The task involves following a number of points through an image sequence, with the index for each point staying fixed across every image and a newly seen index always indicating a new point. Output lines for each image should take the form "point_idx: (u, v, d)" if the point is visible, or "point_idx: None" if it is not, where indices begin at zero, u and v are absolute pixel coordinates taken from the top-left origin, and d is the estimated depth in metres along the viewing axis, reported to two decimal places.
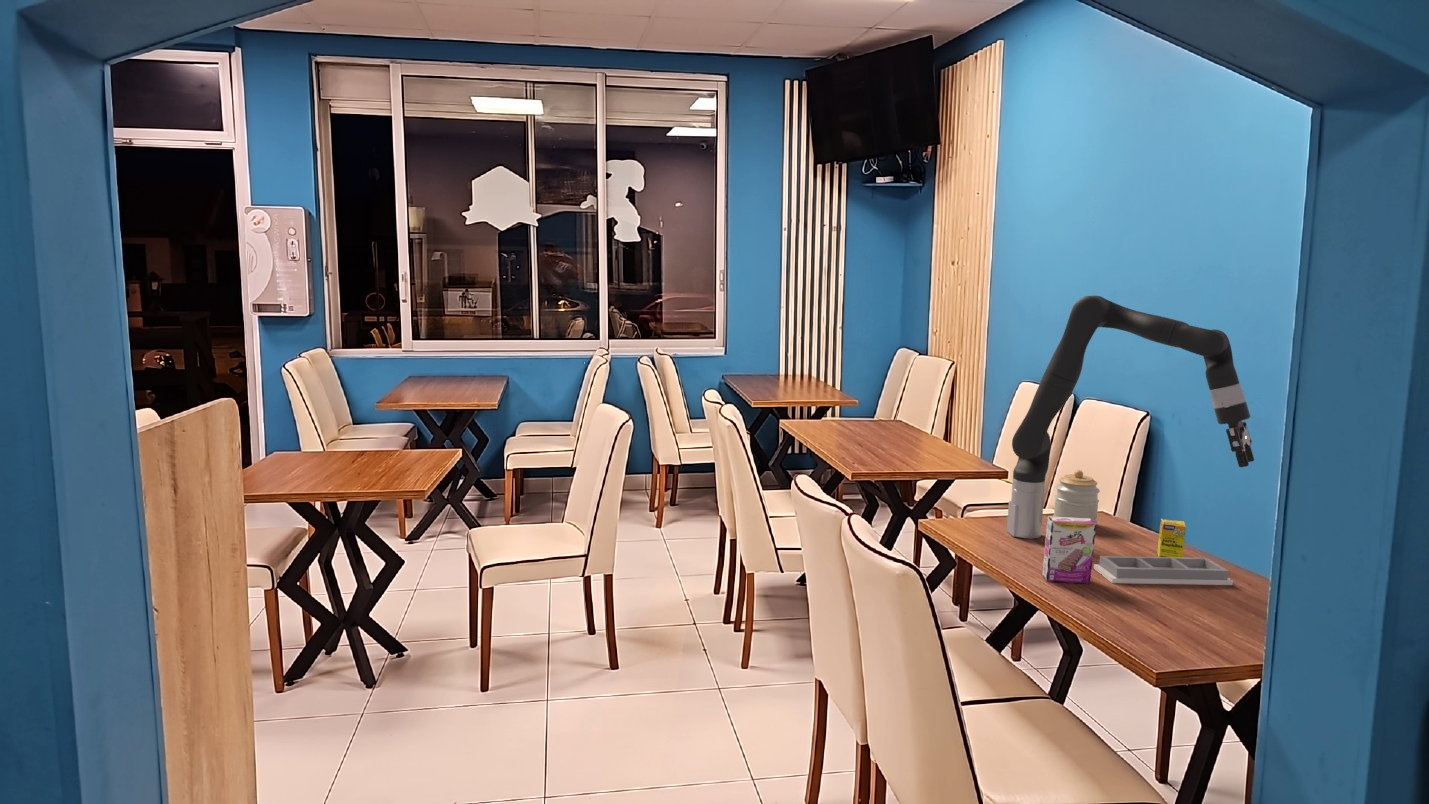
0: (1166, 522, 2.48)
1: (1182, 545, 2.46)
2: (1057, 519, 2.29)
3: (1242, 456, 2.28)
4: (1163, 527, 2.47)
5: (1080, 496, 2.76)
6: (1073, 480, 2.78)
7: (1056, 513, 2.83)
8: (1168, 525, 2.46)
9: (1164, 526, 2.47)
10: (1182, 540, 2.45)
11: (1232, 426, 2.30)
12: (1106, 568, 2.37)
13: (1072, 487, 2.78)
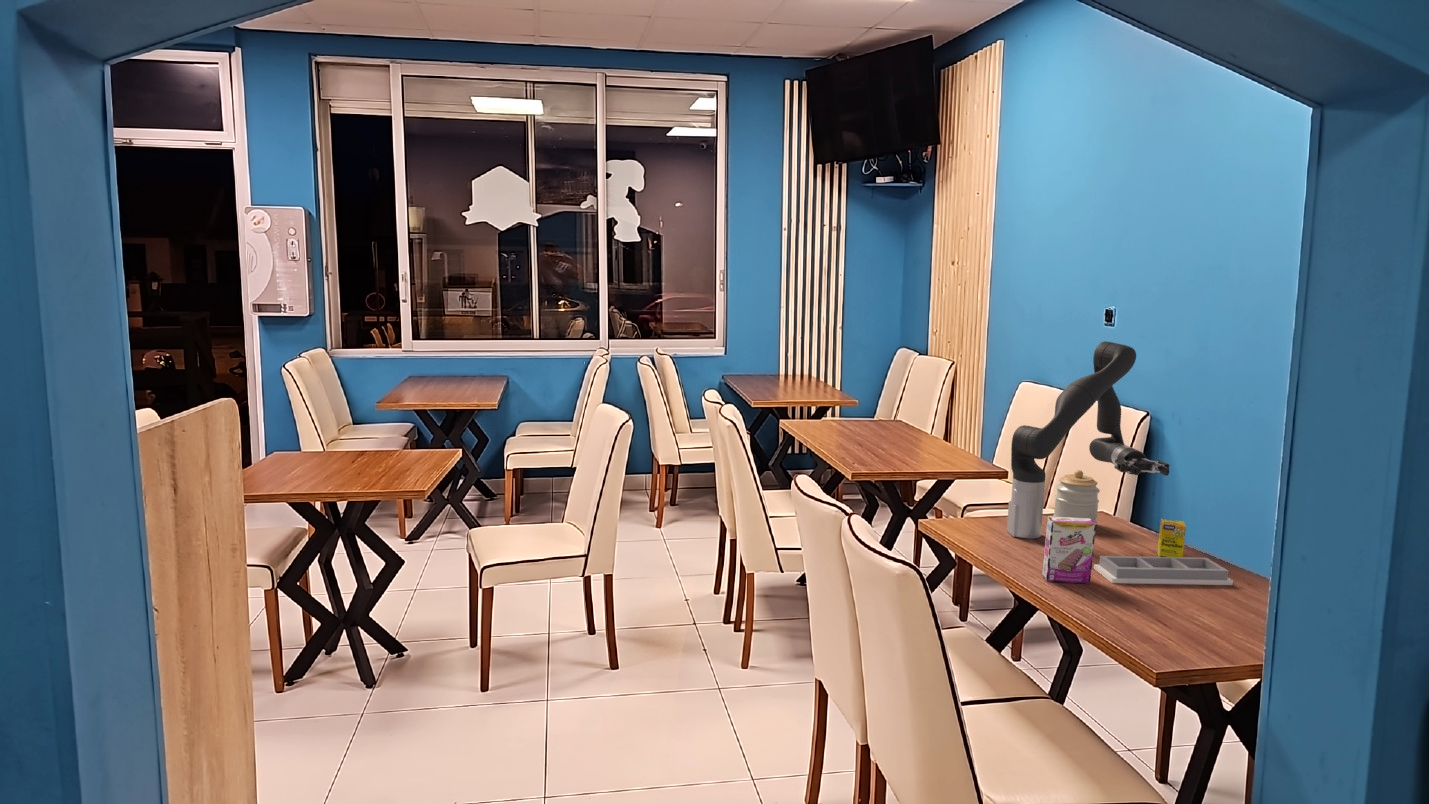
0: (1166, 522, 2.48)
1: (1182, 545, 2.46)
2: (1057, 519, 2.29)
3: None
4: (1163, 527, 2.47)
5: (1080, 496, 2.76)
6: (1073, 480, 2.78)
7: (1056, 513, 2.83)
8: (1168, 525, 2.46)
9: (1164, 526, 2.47)
10: (1182, 540, 2.45)
11: None
12: (1106, 568, 2.37)
13: (1072, 487, 2.78)
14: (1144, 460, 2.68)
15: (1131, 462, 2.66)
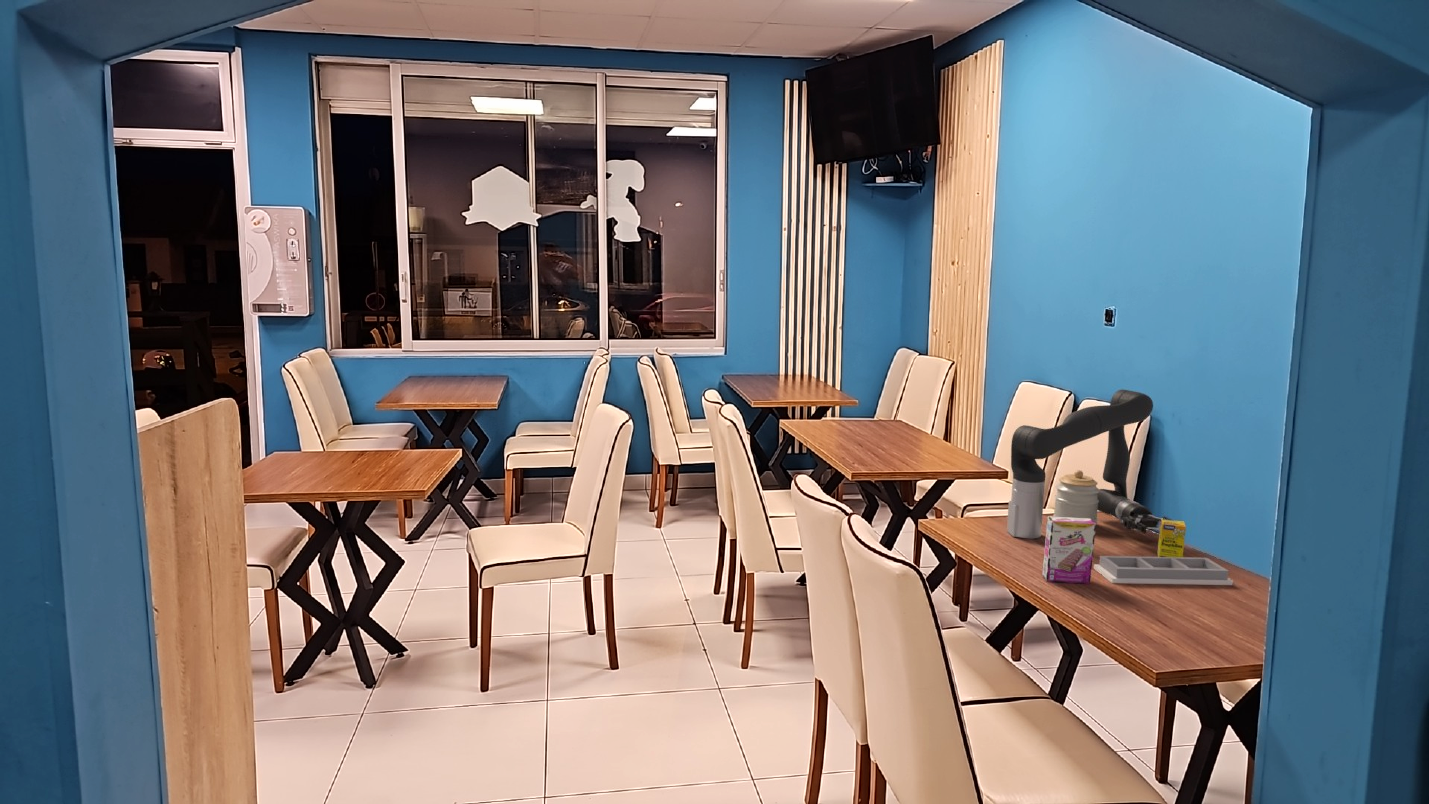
0: (1166, 522, 2.48)
1: (1182, 545, 2.46)
2: (1057, 519, 2.29)
3: None
4: (1163, 527, 2.47)
5: (1080, 496, 2.76)
6: (1073, 480, 2.78)
7: (1056, 513, 2.83)
8: (1168, 525, 2.46)
9: (1164, 526, 2.47)
10: (1182, 540, 2.45)
11: None
12: (1106, 568, 2.37)
13: (1072, 487, 2.78)
14: (1150, 517, 2.64)
15: (1137, 519, 2.61)
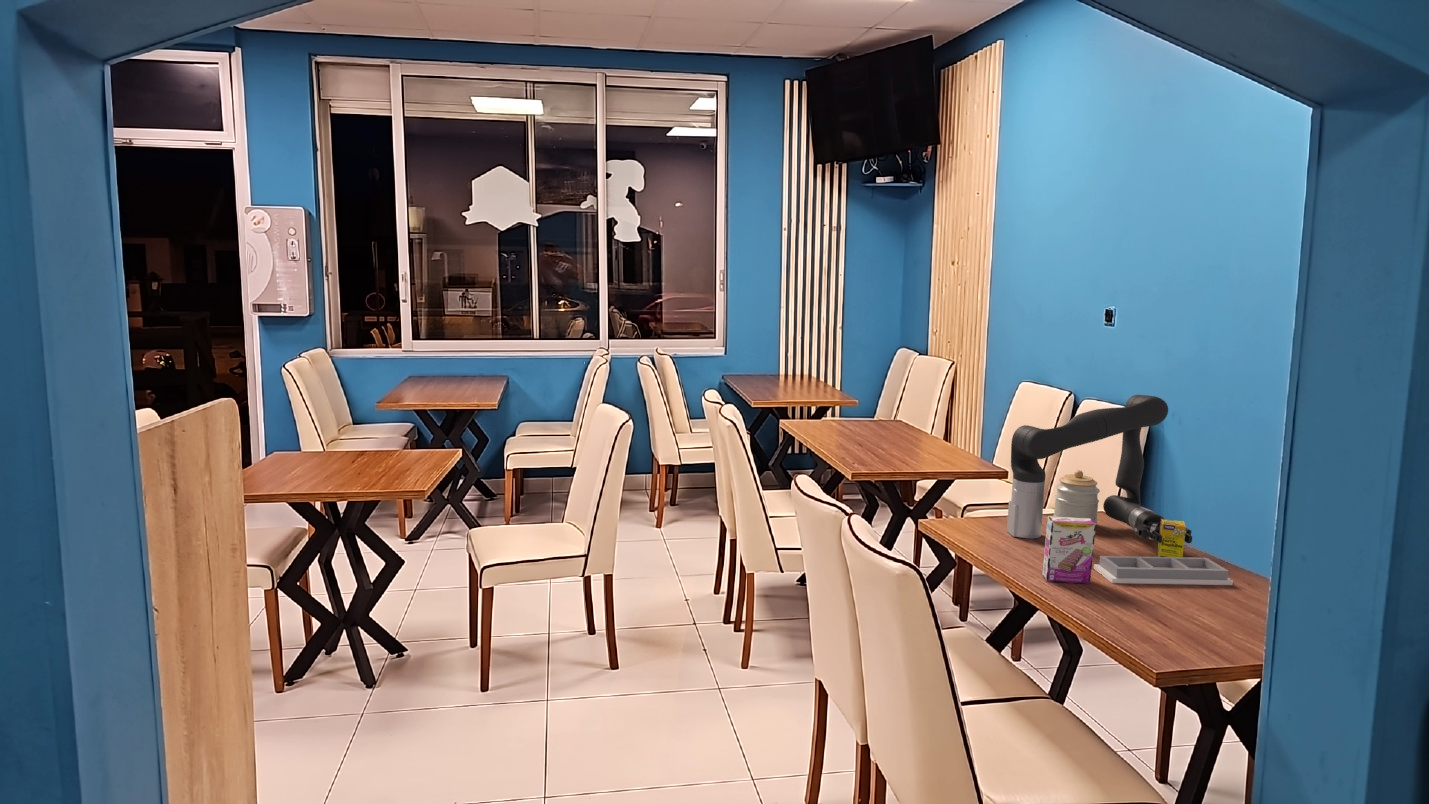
0: (1166, 522, 2.48)
1: (1182, 545, 2.46)
2: (1057, 519, 2.29)
3: None
4: (1163, 527, 2.47)
5: (1080, 496, 2.76)
6: (1073, 480, 2.78)
7: (1056, 513, 2.83)
8: (1168, 525, 2.46)
9: (1164, 526, 2.47)
10: (1182, 540, 2.45)
11: None
12: (1106, 568, 2.37)
13: (1072, 487, 2.78)
14: None
15: (1152, 528, 2.53)
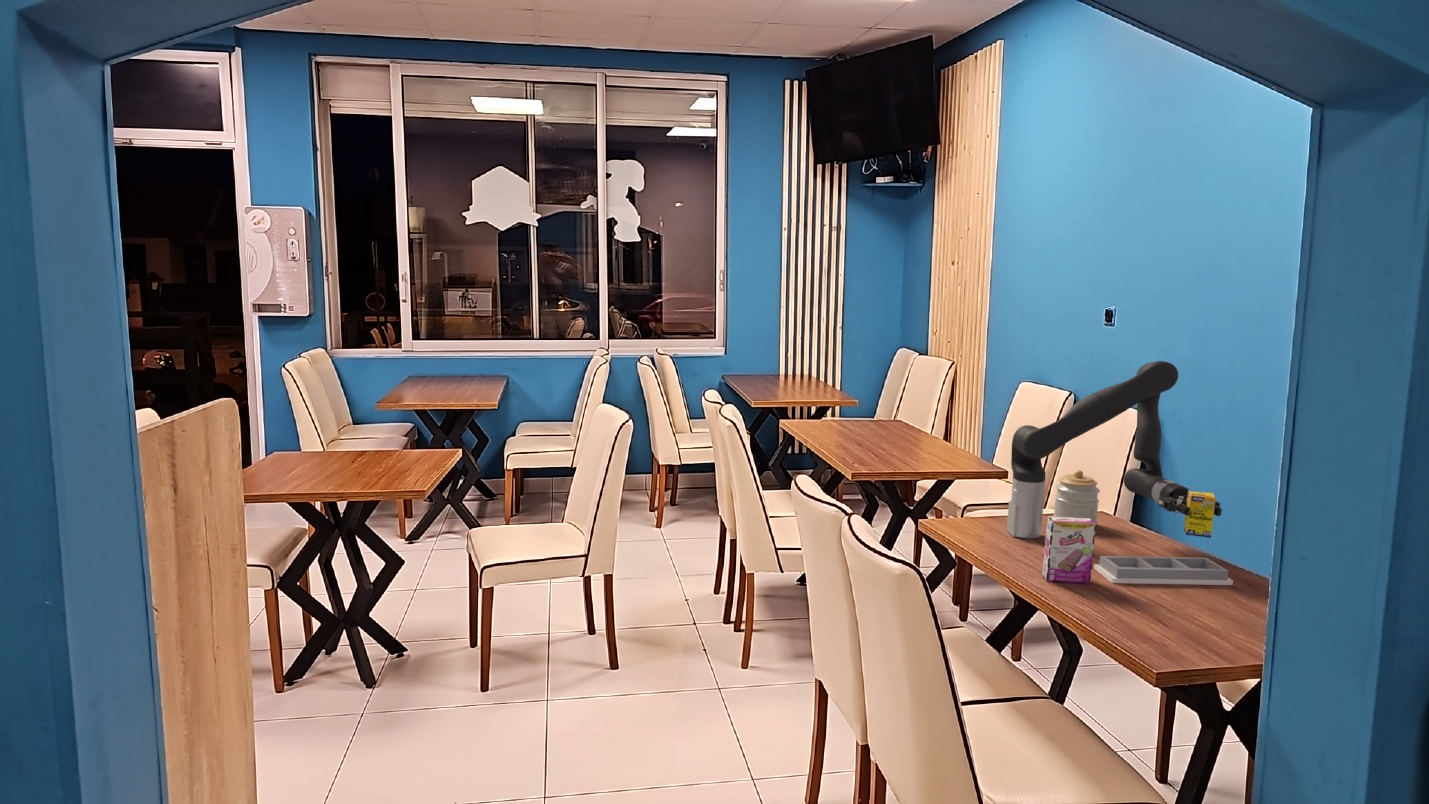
0: (1194, 494, 2.35)
1: (1211, 518, 2.32)
2: (1057, 519, 2.29)
3: None
4: (1191, 499, 2.34)
5: (1080, 496, 2.76)
6: (1073, 480, 2.78)
7: (1056, 513, 2.83)
8: (1196, 496, 2.33)
9: (1192, 498, 2.33)
10: (1211, 512, 2.32)
11: None
12: (1106, 568, 2.37)
13: (1072, 487, 2.78)
14: None
15: (1179, 500, 2.39)
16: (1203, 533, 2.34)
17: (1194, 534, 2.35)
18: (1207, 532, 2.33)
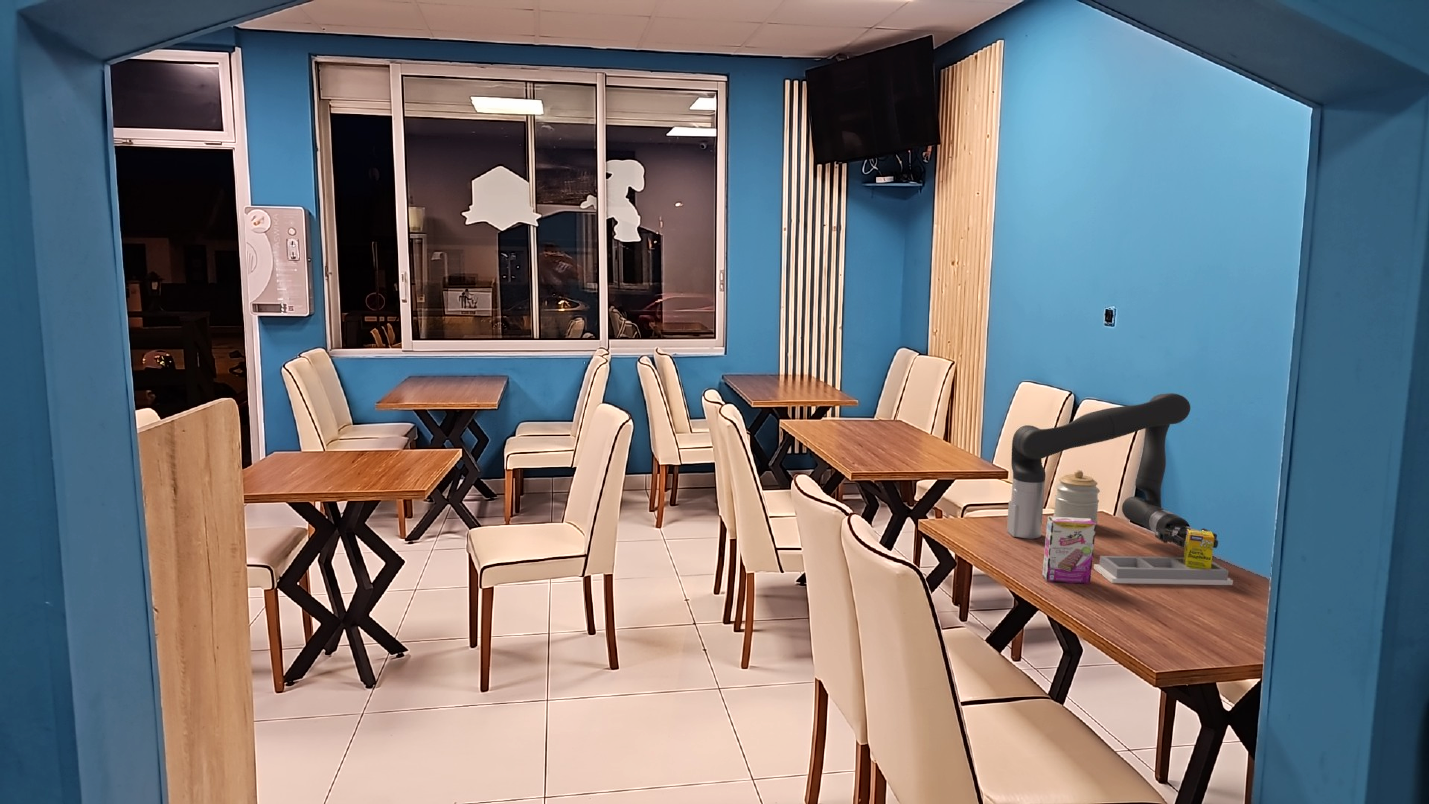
0: (1193, 533, 2.34)
1: (1210, 557, 2.32)
2: (1057, 519, 2.29)
3: None
4: (1190, 538, 2.33)
5: (1080, 496, 2.76)
6: (1073, 480, 2.78)
7: (1056, 513, 2.83)
8: (1195, 535, 2.32)
9: (1191, 537, 2.33)
10: (1210, 552, 2.32)
11: None
12: (1106, 568, 2.37)
13: (1072, 487, 2.78)
14: None
15: (1175, 531, 2.40)
16: None
17: None
18: None
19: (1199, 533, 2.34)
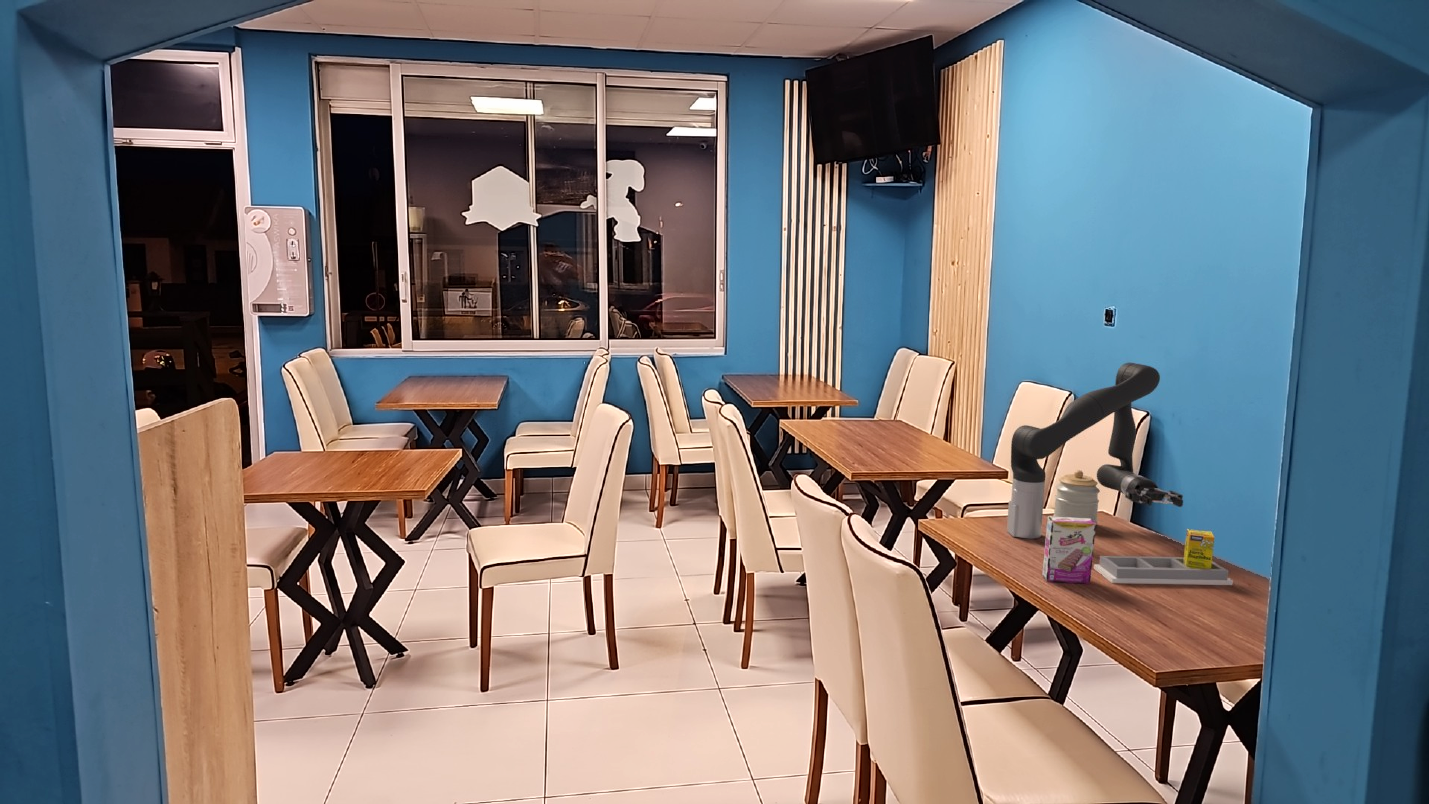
0: (1193, 533, 2.34)
1: (1210, 557, 2.32)
2: (1057, 519, 2.29)
3: None
4: (1190, 538, 2.33)
5: (1080, 496, 2.76)
6: (1073, 480, 2.78)
7: (1056, 513, 2.83)
8: (1195, 535, 2.32)
9: (1191, 537, 2.33)
10: (1210, 552, 2.32)
11: None
12: (1106, 568, 2.37)
13: (1072, 487, 2.78)
14: (1156, 490, 2.57)
15: (1143, 492, 2.55)
16: None
17: None
18: None
19: (1199, 533, 2.34)
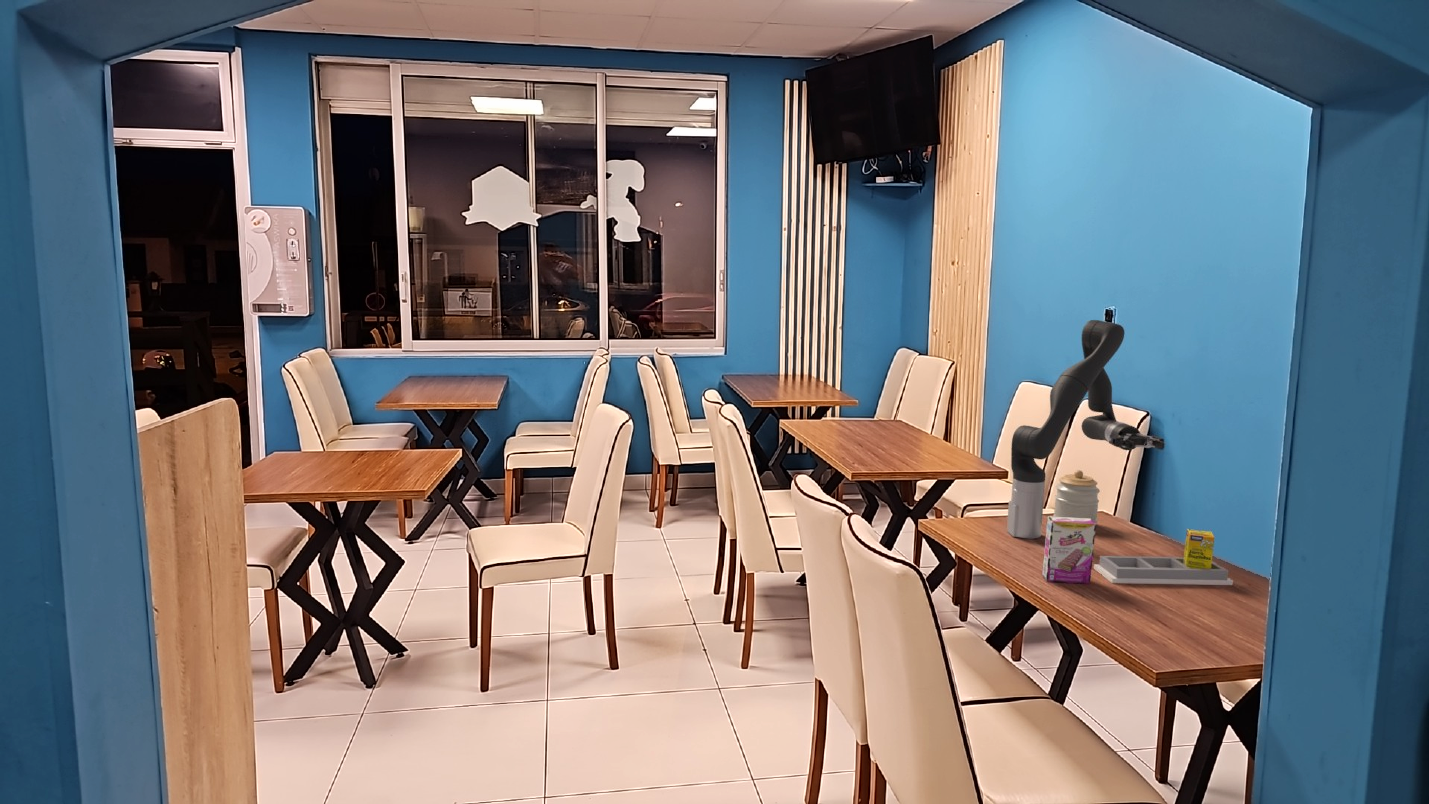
0: (1193, 533, 2.34)
1: (1210, 557, 2.32)
2: (1057, 519, 2.29)
3: None
4: (1190, 538, 2.33)
5: (1080, 496, 2.76)
6: (1073, 480, 2.78)
7: (1056, 513, 2.83)
8: (1195, 535, 2.32)
9: (1191, 537, 2.33)
10: (1210, 552, 2.32)
11: None
12: (1106, 568, 2.37)
13: (1072, 487, 2.78)
14: (1138, 435, 2.65)
15: (1126, 437, 2.63)
16: None
17: None
18: None
19: (1199, 533, 2.34)
